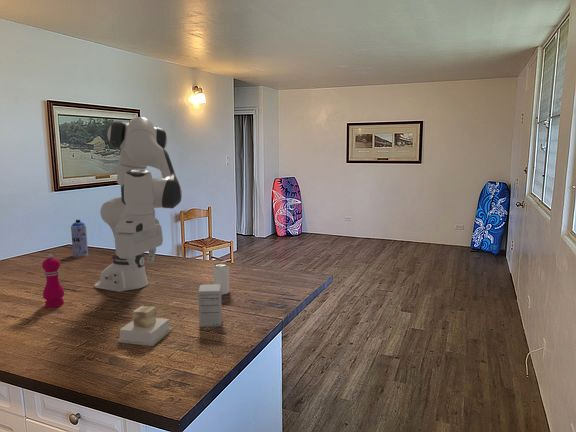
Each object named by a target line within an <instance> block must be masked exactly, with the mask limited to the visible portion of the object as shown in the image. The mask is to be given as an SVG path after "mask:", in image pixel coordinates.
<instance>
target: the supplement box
mask: <svg viewBox="0 0 576 432" xmlns="http://www.w3.org/2000/svg"><path fill="white" fill-rule="evenodd" d="M197 294H198V298H197V299H198V316H199V317H198V320H199V327H201V328H202V327H205V328H206V327H221V326H222V322H223V321H222V319H223V312H222V311H223V309H222V295H221V284H214V283H212V284H210V283H209V284H200V285H199V289H198V293H197Z"/></svg>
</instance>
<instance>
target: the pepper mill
mask: <svg viewBox="0 0 576 432" xmlns="http://www.w3.org/2000/svg"><path fill="white" fill-rule="evenodd" d="M41 264H42V265H41V267H42V269H43V270H44V271H43V273H44V276H45V278H46V283H45V287H44V289H43V293H42V296H43V297H42V298H43V299H44V300H45V302H44V303H45V304H44V306H45V308H49V309H50V308H53V309H54V308H58V307H61V306H64V303H65V302H64V298H63V297H64V295H65V290H64V287H63V285H62V284H61V282H60V280H59V274H60V267H61V261H60V260H59V259H58V258H56V257H54V255H53V254H51V253H49V254H48V255H47V258H46V259H44V260H43V262H42V263H41Z"/></svg>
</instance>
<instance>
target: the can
mask: <svg viewBox="0 0 576 432" xmlns="http://www.w3.org/2000/svg"><path fill="white" fill-rule="evenodd" d="M212 275H213V276H212V277H213V278H212V279H213V284H221V296H224V295H228V294H229V293H230V267H229V266H228V263H226V262H217V263H214V265H213V269H212Z"/></svg>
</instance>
